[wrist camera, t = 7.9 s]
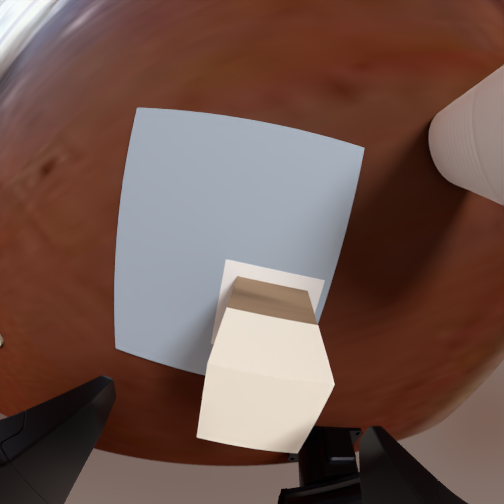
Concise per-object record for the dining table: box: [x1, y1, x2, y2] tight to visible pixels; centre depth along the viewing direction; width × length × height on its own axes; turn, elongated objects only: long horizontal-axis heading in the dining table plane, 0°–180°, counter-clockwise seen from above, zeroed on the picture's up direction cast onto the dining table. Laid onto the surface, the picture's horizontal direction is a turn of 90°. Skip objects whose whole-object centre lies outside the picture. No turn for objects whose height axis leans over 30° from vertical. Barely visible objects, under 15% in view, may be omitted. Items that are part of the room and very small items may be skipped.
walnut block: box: [227, 276, 318, 325], centre depth 18 cm, size 5×5×5 cm
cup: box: [428, 65, 504, 206], centre depth 11 cm, size 10×10×11 cm
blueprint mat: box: [114, 108, 364, 376], centre depth 20 cm, size 20×16×1 cm
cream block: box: [197, 307, 335, 453], centre depth 13 cm, size 5×5×5 cm
